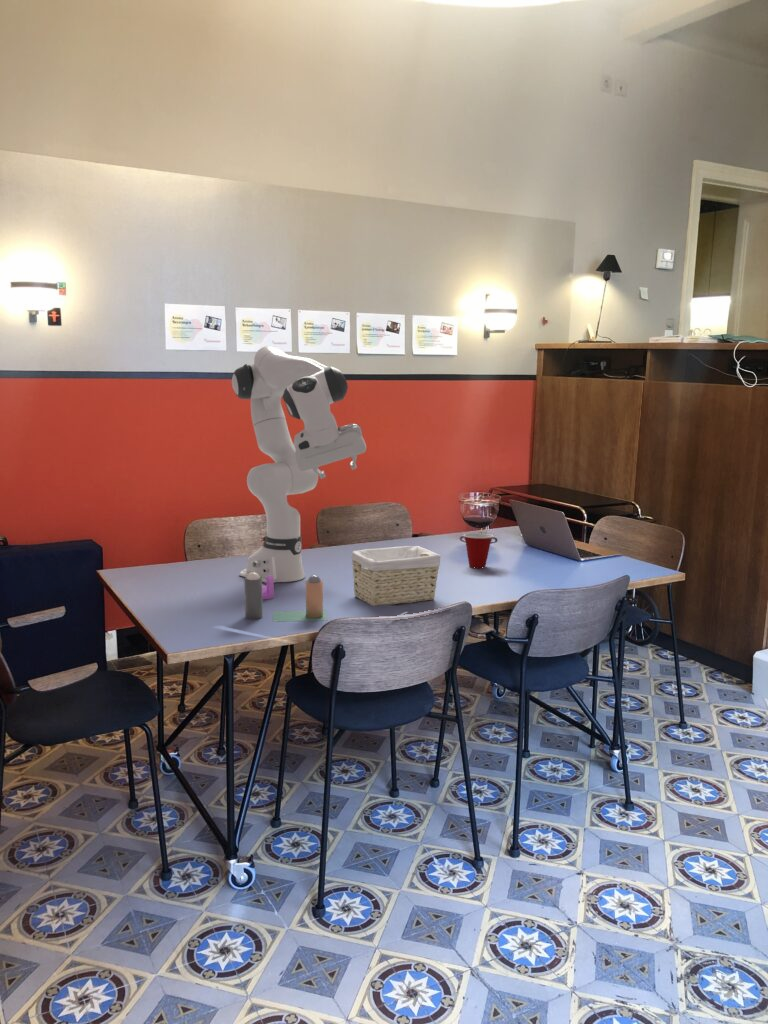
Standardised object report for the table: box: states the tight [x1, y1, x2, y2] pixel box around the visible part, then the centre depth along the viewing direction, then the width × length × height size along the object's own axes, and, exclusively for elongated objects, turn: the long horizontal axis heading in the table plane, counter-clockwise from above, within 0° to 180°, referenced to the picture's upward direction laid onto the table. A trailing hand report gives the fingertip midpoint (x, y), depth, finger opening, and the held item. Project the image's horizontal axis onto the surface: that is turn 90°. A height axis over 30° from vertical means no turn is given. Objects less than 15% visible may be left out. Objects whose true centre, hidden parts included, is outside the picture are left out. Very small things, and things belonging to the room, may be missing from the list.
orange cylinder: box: [305, 574, 324, 618], centre depth 221 cm, size 5×5×12 cm
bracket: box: [262, 575, 275, 600], centre depth 246 cm, size 13×6×7 cm, turn 21°
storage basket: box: [351, 545, 441, 607], centre depth 242 cm, size 24×16×15 cm
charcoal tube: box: [244, 572, 263, 621], centre depth 219 cm, size 5×5×14 cm
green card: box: [272, 610, 328, 623], centre depth 222 cm, size 15×9×1 cm, turn 97°
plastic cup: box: [463, 532, 494, 569], centre depth 283 cm, size 11×11×12 cm
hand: (338, 472), depth 227 cm, fingers open, 8 cm apart
